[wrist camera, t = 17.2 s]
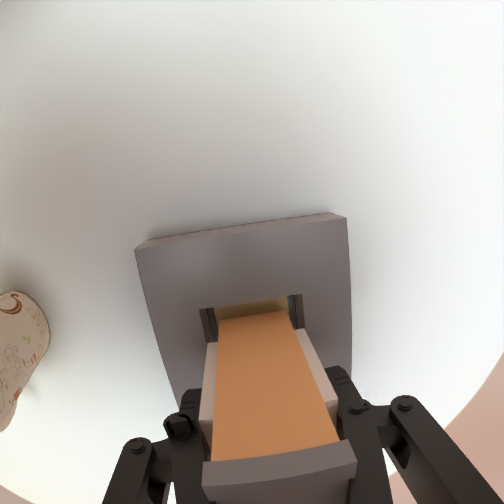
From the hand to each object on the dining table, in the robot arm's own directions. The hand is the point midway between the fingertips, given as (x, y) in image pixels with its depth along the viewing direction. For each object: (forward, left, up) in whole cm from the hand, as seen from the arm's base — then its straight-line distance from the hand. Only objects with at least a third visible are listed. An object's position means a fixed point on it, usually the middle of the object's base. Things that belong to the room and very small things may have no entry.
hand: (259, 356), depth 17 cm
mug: (0, -20, -4) cm, 20 cm away
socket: (+4, 0, -4) cm, 6 cm away
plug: (0, 0, -2) cm, 2 cm away
